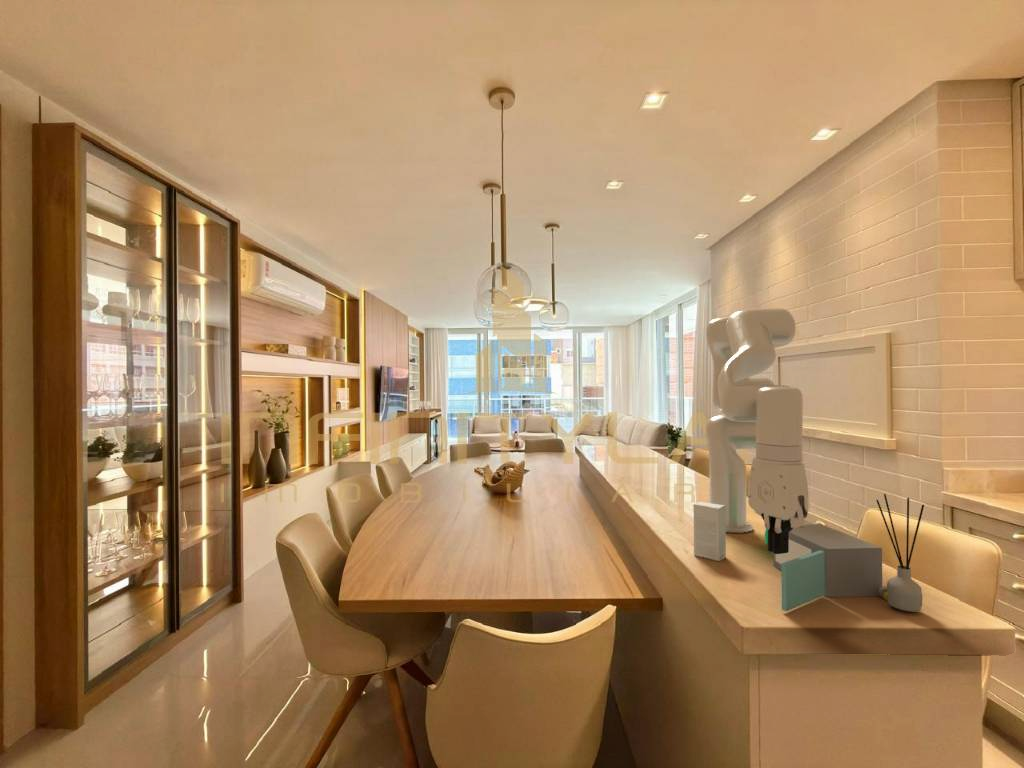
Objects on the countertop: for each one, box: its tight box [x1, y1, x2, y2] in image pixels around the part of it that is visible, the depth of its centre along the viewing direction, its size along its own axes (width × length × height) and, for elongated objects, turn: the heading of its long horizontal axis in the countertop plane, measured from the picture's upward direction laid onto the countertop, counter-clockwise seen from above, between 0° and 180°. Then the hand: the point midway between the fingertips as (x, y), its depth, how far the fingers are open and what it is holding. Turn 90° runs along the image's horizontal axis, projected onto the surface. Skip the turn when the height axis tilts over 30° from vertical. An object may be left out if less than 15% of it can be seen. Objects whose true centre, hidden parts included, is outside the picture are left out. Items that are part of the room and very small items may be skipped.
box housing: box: [773, 523, 883, 598], centre depth 98 cm, size 16×11×9 cm
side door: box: [781, 551, 825, 612], centre depth 86 cm, size 13×1×8 cm, turn 122°
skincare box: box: [692, 501, 727, 562], centre depth 111 cm, size 6×4×12 cm
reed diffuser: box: [876, 493, 925, 613], centre depth 85 cm, size 10×7×20 cm
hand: (778, 551), depth 89 cm, fingers closed
